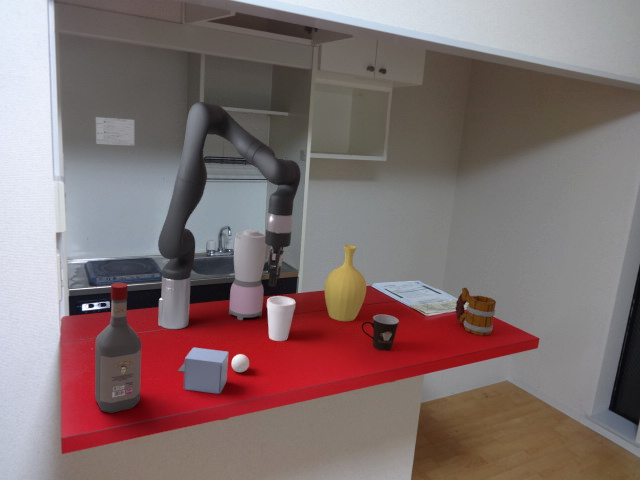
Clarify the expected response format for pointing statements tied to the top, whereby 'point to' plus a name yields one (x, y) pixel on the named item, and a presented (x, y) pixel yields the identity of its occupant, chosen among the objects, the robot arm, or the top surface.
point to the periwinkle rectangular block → (205, 370)
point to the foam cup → (280, 316)
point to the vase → (345, 289)
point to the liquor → (117, 358)
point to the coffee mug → (383, 331)
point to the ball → (240, 363)
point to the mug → (476, 313)
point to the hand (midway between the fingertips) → (274, 281)
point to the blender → (248, 274)
